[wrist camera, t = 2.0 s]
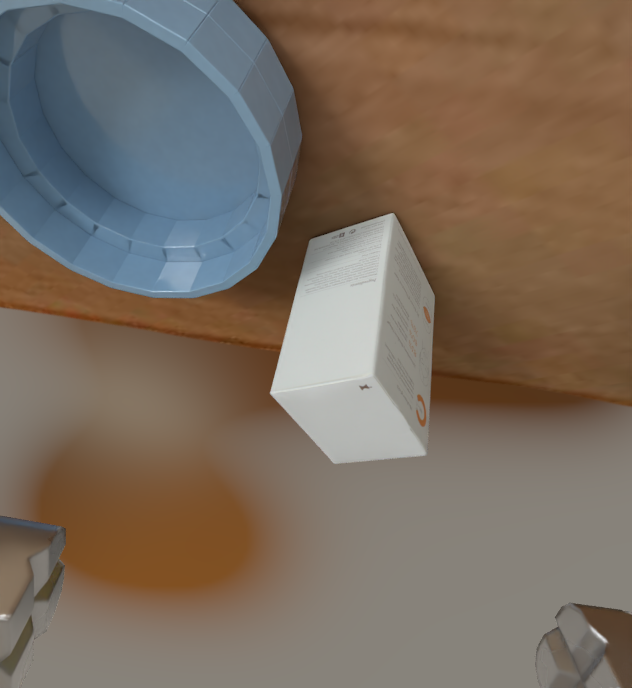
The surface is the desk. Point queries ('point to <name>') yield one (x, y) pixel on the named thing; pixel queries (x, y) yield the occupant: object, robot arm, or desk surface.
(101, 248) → the faceted blue bowl
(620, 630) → the robot arm
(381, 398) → the small box
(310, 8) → the desk surface
